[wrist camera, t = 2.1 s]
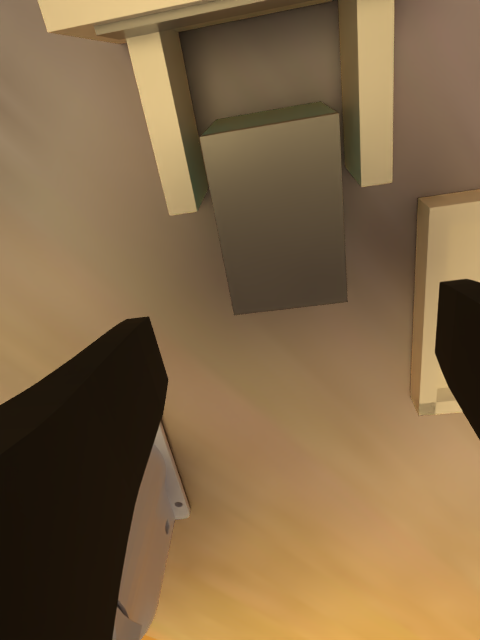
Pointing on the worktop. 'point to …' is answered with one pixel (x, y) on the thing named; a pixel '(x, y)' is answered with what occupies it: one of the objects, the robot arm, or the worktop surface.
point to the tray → (430, 269)
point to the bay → (173, 89)
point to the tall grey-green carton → (279, 206)
